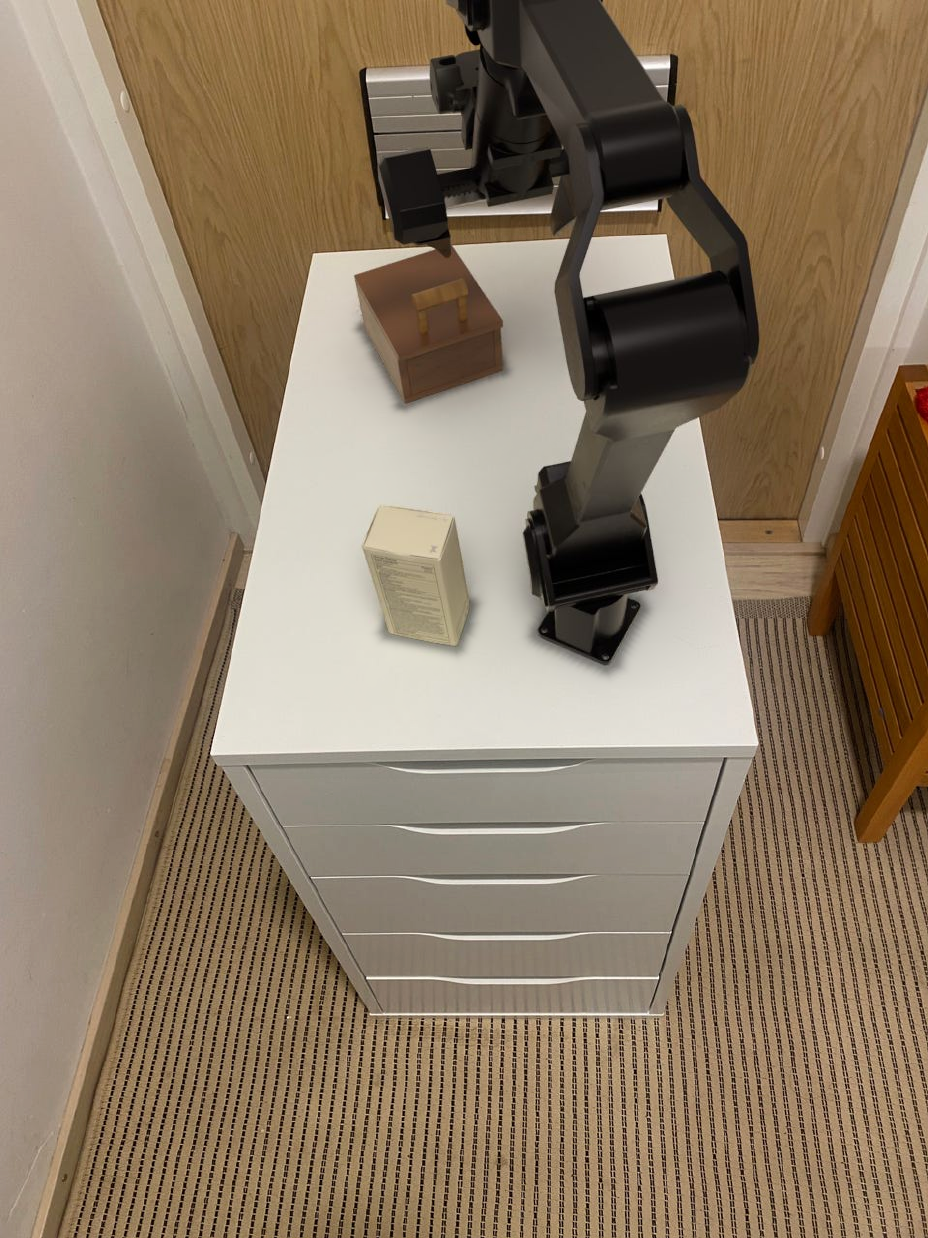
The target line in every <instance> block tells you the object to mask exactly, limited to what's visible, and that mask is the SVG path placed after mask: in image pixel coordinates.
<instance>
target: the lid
mask: <svg viewBox="0 0 928 1238" xmlns="http://www.w3.org/2000/svg"><path fill="white" fill-rule="evenodd" d="M451 248H452V254H451V256H450V257H449V258H445V257H444V256H443V255H442V254H441V253H440V252H439V251H437V250H436V249H432V250H428V251H425V252H421V253H419V254H416V255H413V256H411V257H407V258H403V259H400V260H397V261H394V262H390V263H387V264H385V265H382V266H379V267H375V268H372V269H369V270H366V271H363V272H359V273H355V274H354V275H353V279H354V282H355V285H356V284H357V286H358V288H359V290H360V291H361V293H362V295H363V297H364V299H365V300H366V302H367V304H368V306H369V308H370V309H371V311H372V313H373V315H374V317H375V318H376V320H377V322H378V324H379V326H380V328H381V329H382V331H383V333H384V335H385V337H386V338H387V340H388V342H389V344H390V346H391V347H392V349H393V351H394V353H395V355H396V357H397V358H398V360H399V362H400V361H403V360H406V359H409V358H412V357H415V356H418V355H421V354H424V353H427V352H430V351H433V350H436V349H439V348H442V347H445V346H448V345H451V344H454V343H457V342H460V341H463V340H466V339H469V338H472V337H475V336H478V335H481V334H484V333H487V332H490V331H493V330H496V329H499V328H501V329H502V328H504V321H503V319H502V317H501V316H500V314H499V313H498V312H497V309H496V308H495V307H494V305H493V304H492V303H491V301H490V299H489V298H488V297H487V295H486V293H485V292H484V291H483V289H482V287H481V286H480V284H479V283H478V282H477V280H476V279H475V277H474V276H473V274H472V273H471V271H470V270H469V267H468V266H467V265H466V264H465V262H464V261H463V259H462V258H461V256H460V255H459V253H458V252H457V250H456V248H455V247H454V246H453V244H452V243H451Z"/></svg>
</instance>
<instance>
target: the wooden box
mask: <svg viewBox="0 0 928 1238" xmlns="http://www.w3.org/2000/svg"><path fill="white" fill-rule="evenodd" d="M355 287H356V293H357V298H358V303H359V308H360V313H361V319H362V323H363V327H364V330H365V332H366V334H367V335H368V337H369V340H370V341H371V343H372V345H373V346H374V348H375V351H376V352H377V354H378V356H379V358H380V360H381V361H382V363H383V365H384V367H385V369H386V371H387V372H388V374H389V377H390V378H391V379H392V382H393V384H394V386H395V388H396V390H397V391H398V393H399V395H400V397H401V399H402V401H403V403H404V404H408V403H411V402H414V401H417V400H420V399H423V398H425V397H428V396H432V395H435V394H437V393H441V392H443V391H446V390H449V389H453V388H454V387H459V386H460V385H461V386H462V385H463V384H467V383H469V382H473V381H475V380H478V379H481V378H484V377H488V376H490V375H493V374H495V373H498V372H502V371H503V370H504V363H503V362H504V361H503V346H502V345H503V343H502V328H499V329H496V330H493V331H490V332H487V333H484V334H481V335H478V336H475V337H472V338H469V339H466V340H463V341H460V342H457V343H454V344H451V345H448V346H445V347H442V348H439V349H436V350H433V351H430V352H427V353H424V354H421V355H418V356H415V357H412V358H409V359H406V360H403V361H400V362H399V360H398V358H397V357H396V355H395V353H394V351H393V349H392V347H391V346H390V344H389V342H388V340H387V338H386V337H385V335H384V333H383V331H382V329H381V328H380V326H379V324H378V322H377V320H376V318H375V317H374V315H373V313H372V311H371V309H370V308H369V306H368V304H367V302H366V300H365V299H364V297H363V295H362V293H361V291H360V290H359V288H358V286H357V284H356V283H355Z"/></svg>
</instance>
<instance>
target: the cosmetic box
mask: <svg viewBox="0 0 928 1238" xmlns="http://www.w3.org/2000/svg"><path fill="white" fill-rule="evenodd" d="M361 548H362V551H363V554H364V557H365V561H366V564H367V568H368V570H369V573H370V577H371V580H372V583H373V587H374V589H375V593H376V596H377V599H378V603H379V606H380V609H381V612H382V615H383V618H384V621H385V624H386V627H387V628H386V629H387V630H388V633H389V634H390V635H395V636H400V637H405V638H410V639H414V640H420V641H426V642H430V643H434V644H435V643H436V644H441V645H445V646H447V645H448V646H452V647H457V646H458V644H459V641H460V640H461V636H462V633H463V630H464V627H465V625H466V620H467V617H468V614H469V610H470V607H471V605H470V599H469V592H468V586H467V581H466V575H465V568H464V563H463V558H462V557H463V556H462V551H461V546H460V540H459V534H458V529H457V522H456V518H455V516H454V515H452V514H447V513H443V512H436V511H429V510H424V509H418V508H417V509H416V508H412V507H411V508H410V507H405V506H397V505H390V504H389V505H388V504H380V503H379V505H378V507H377V509H376V511H375V513H374V516H373V518H372V520H371V522H370V525H369V527H368V529H367V531H366V534H365V536H364V539H363V541H362V544H361Z"/></svg>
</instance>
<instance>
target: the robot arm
mask: <svg viewBox="0 0 928 1238" xmlns="http://www.w3.org/2000/svg"><path fill="white" fill-rule="evenodd" d="M445 1H446V3H445V4H446V5H447V6H448V7H450V8H453V9H455V12H456V14H457V15H458V17H459V18H460V19H461V21H462V23H463V27H464V32H465V35H466V37H467V39H468V40H469V42H470V43H471V45H473V46H474V47H476V46H477V47H478V46H479V48H478V49H475V50H470V51H464V52H460V53H458V54H456V55H455V54H449V55H444V56H438V57H434V58H430V60H429V87H430V95H431V99H432V101H433V105H434V106H435V109H436V111H437V114H439V115H445V114H450V113H453V114H455V113H460V115H461V130H460V131H461V132H460V133H461V134H460V137H461V140H462V144H463V147H464V150H465V151H470V150H471V162H470V167H467V168H463V169H462V168H461V169H457V170H453V171H447V172H442V173H438V171H437V168H436V164H435V161H434V157H433V153H432V149H431V148H430V147H429V146H423V147H419V148H415V149H408V150H404V151H399V152H393V153H389V154H383V155H382V157H381V158H380V161H378V164H377V175H378V176H377V177H378V183H379V187H380V191H381V195H382V199H383V201H384V205H385V209H386V214H387V217H388V221H389V224H390V228H391V233H392V237H393V240H394V241H396V242H398V243H399V244H401V245H404V246H405V245H409V244H413V245H414V246H417V247H418V246H428V247H430V248H432V249H433V250H435V249H436V250H437V251H439V252H440V253H441V254H442V255H443V256H444V257H445V258H449V257H450V256H451V254H452V248H451V244H452V237H451V232H450V229H449V224H448V223H449V220H448V213H447V211H448V210H451V209H452V210H453V209H457V208H462V207H467V206H471V205H477V204H483V203H486V204H487V207H488V208H490V207H495V206H500V205H505V204H511V203H514V202H521V201H525V200H530V199H535V198H539V197H544V196H545V197H546V196H550V195H553V192H554V187H555V183H554V180H553V179H554V178H557V177H558V178H559V181H558V186H557V189H556V193H555V196H554V201H553V204H552V207H551V212H550V220H549V228H550V231H551V235H552V236H553V237H555V236H559V235H560V234H562V233H563V232H565V231H566V230H568V229H570V228H571V227H572V229H571V234H570V236H569V240H568V243H567V245H566V248H565V251H564V254H563V257H562V260H561V263H560V266H559V270H558V272H557V275H556V279H555V281H554V291H553V292H554V297H555V305H556V308H557V315H558V320H559V324H560V331H561V338H562V342H563V343H562V344H563V349H564V355H565V361H566V366H567V367H566V368H567V371H568V376H569V381H570V384H571V386H572V390H573V392H574V395H575V397H576V399H577V400H578V401H580V402H583V405H584V408H585V414H584V416H583V420H582V423H581V427H580V431H579V433H578V437H577V440H576V444H575V447H574V450H573V452H572V457H571V460H569V461H565V462H558V463H554V464H550V465H545V466H543V467H542V468H541V469H540V470H539V471H538V473H537V481H536V485H533V486H534V487H533V488H534V491H535V496H534V498H533V501H532V503H533V504H532V506H533V507H532V510H528V511H527V512H526V518H525V519H524V520H525V527H524V530H523V532H522V539H523V544H524V550H525V551H524V552H525V556H526V557H525V558H526V561H527V567H528V568H527V569H528V573H529V589H530V592H531V595H533V596H535V597H537V598H539V599H540V600H541V602H542V605H543V607H544V608H545V610H546V613H547V614H546V615H545V617H544V619H543V620H542V622H541V623H540V624H539V627H538V629H537V634H538V636H539V637H540V638H541V639H544V640H546V641H549V642H551V643H553V644H556V645H558V646H559V647H563V648H565V649H568V650H569V651H572V652H574V653H576V654H578V655H581V656H582V657H585V658H588V659H590V660H593V661H594V662H597V663H598V664H599V663H600V664H601V665H605V666H606V665H609V664H611V663H612V661H613V659H614V658H615V656H616V654H617V653H618V651H619V648H620V647H621V645H622V643H623V642H624V640H625V638H626V637H627V634H628V632H629V631H630V629H631V627H632V625H633V624H634V622H635V621H636V618H637V617H638V615H639V613H640V612H641V608H642V607H641V606H642V605H641V604H640V602H639V601H637V600H635V599H633V598H630V597H629V596H628V595H630V594H635V593H638V592H643V591H647V592H648V591H653V590H654V589H655V588H656V587H657V586H658V584H659V578H658V571H657V566H656V565H657V564H656V560H655V553H654V547H653V542H652V536H651V535H652V534H651V529H650V523H649V516H648V511H647V507H646V503H645V499H644V497H643V495H642V493H643V490H644V488H645V487H646V484H647V482H649V481H648V480H649V479H650V477H651V475H652V473H653V471H654V469H655V468H656V466H657V464H658V462H659V460H660V458H661V456H662V454H663V453H664V451H665V448H666V447H667V446H668V444H669V442H670V440H671V438H672V435H673V434H674V432H675V431H676V429H678V428H679V427H681V426H683V425H685V424H687V423H690V422H692V421H694V420H696V419H698V418H701V417H704V416H705V415H708V414H709V413H711V412H714V411H716V410H718V409H720V408H722V407H723V406H724V405H726V403H728V402H729V401H730V400H731V399H733V397H734V396H736V395H737V394H738V393H740V391H741V390H742V389H743V387H744V386H745V384H746V382H747V381H748V378H749V376H750V373H751V368H752V365H754V364H755V362H756V359H757V357H758V354H759V348H760V347H759V346H760V329H759V327H760V326H759V325H760V324H759V318H758V312H757V304H756V296H755V289H754V288H755V287H754V281H753V275H752V267H751V260H750V252H749V245H748V241H747V239H746V236H745V234H744V233H743V231H742V229H741V228H740V227H739V226H738V224H737V223H736V222H735V220H734V219H733V218H732V217H731V215H730V214H729V212H728V211H727V210H726V208H725V207H724V206H723V204H722V202H720V200H719V199H718V198H717V197H716V195H715V194H714V192H713V191H712V190H711V188H710V187H709V186H708V184H707V183H706V182H705V180H704V179H703V178H702V176H701V171H700V165H699V157H698V151H697V145H696V144H697V143H696V138H695V136H696V135H695V132H694V127H693V122H692V119H691V116H690V115H689V112H688V110H687V108H686V107H684V106H683V105H682V104H676V105H671V103H670V102H669V101H666V100H665V98H664V96H663V95H662V93H661V92H660V91H659V88H658V87H657V86H656V84H655V83H654V81H653V79H652V78H651V77H650V74H649V73H648V72H647V70H646V69H645V67H644V66H643V64H642V63H641V61H640V59H639V58H638V56H637V55H636V53H635V52H634V50H633V48H632V47H631V45H630V44H629V42H628V40H627V39H626V38H625V36H624V35H623V33H622V32H621V30H620V29H619V27H618V26H617V24H616V22H615V21H614V19H613V18H612V16H611V14H610V13H609V12H608V9H606V7H605V5H604V4H603V2H604V0H445ZM664 199H666V202H667V205H668V207H669V208H670V209H671V210H672V212H673V213H674V214H675V216H676V217H677V218H678V220H679V221H680V222H681V223H682V225H683V226H684V227H685V229H686V230H687V231H688V233H689V234H690V235H691V236H692V238H693V239H694V241H695V242H696V243H697V244H698V245H699V248H701V249H702V251H703V252H704V254H705V255H706V256H707V258H708V260H709V266H710V272H704V273H698V274H694V275H689V276H684V277H679V278H674V279H670V280H664V281H659V282H654V283H648V284H644V285H640V286H639V285H638V286H633V287H628V288H624V289H619V290H614V291H609V292H604V293H599V294H594V295H589V296H584V295H583V288H582V283H581V271H582V268H583V265H584V262H585V259H586V256H587V254H588V250H589V247H590V243H591V241H592V238H593V235H594V232H595V229H596V226H597V223H598V220H599V217H600V215H601V211H602V212H603V211H606V210H607V211H608V210H612V209H617V208H623V207H628V206H633V205H638V204H643V203H644V204H645V203H648V202H649V203H650V202H653V201H659V200H664ZM543 631H546V632H543ZM605 657H606V658H607V659H606V658H605Z"/></svg>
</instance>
